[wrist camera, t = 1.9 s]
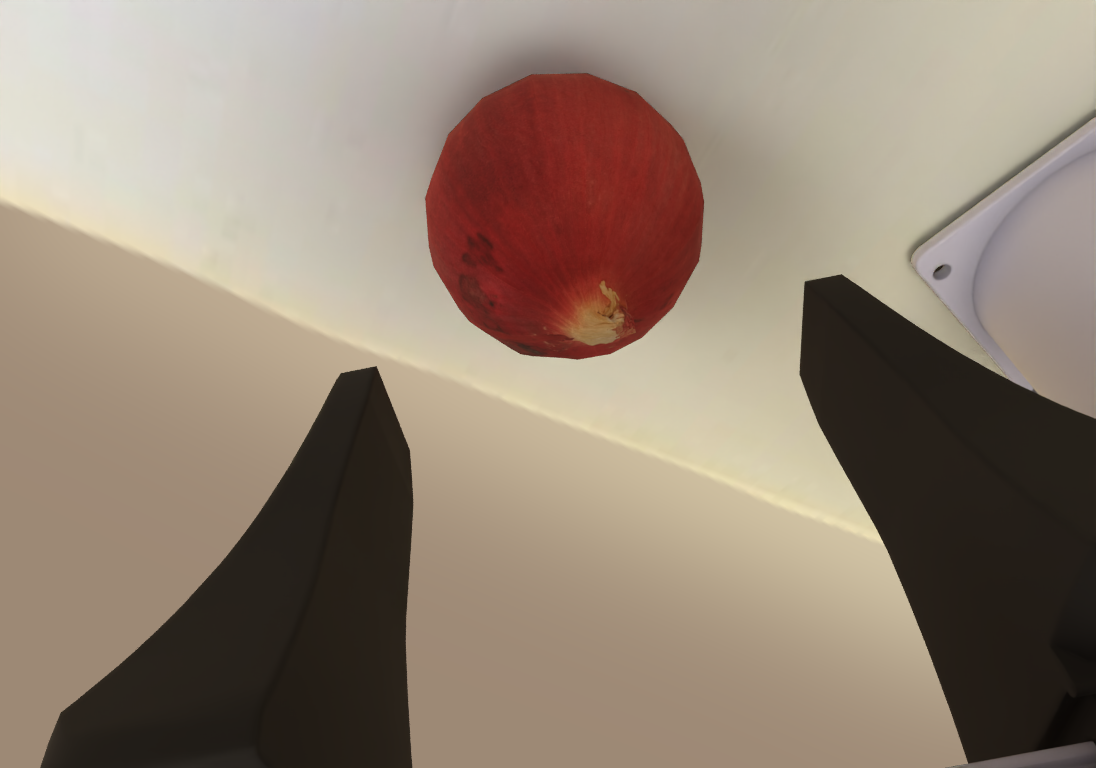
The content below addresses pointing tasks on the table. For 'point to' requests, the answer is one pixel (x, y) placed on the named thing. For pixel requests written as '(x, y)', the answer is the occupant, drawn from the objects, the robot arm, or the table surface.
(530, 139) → the onion
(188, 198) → the table surface
